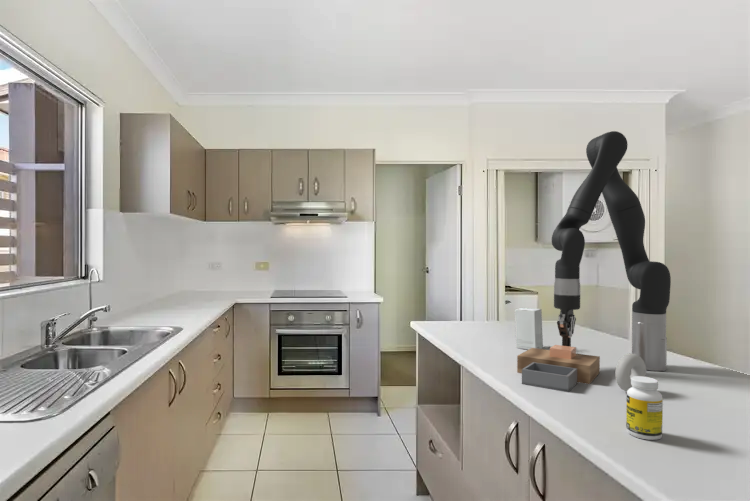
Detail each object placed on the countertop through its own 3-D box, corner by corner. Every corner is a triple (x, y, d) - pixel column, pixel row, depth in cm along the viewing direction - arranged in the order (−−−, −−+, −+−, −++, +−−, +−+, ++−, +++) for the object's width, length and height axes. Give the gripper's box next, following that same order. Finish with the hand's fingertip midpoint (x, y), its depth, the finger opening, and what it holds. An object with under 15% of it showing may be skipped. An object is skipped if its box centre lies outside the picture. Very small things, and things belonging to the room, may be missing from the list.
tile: (575, 355, 139) (576, 347, 139) (571, 359, 134) (571, 350, 134) (555, 352, 142) (555, 344, 142) (549, 356, 137) (549, 347, 137)
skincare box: (543, 349, 171) (543, 309, 171) (535, 351, 167) (535, 310, 167) (522, 345, 177) (522, 306, 177) (514, 348, 173) (514, 308, 173)
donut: (624, 396, 116) (624, 356, 116) (612, 392, 119) (612, 353, 119) (649, 391, 120) (649, 352, 120) (636, 387, 123) (636, 350, 123)
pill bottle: (619, 429, 95) (619, 375, 95) (647, 428, 95) (648, 374, 95) (639, 441, 88) (640, 383, 88) (669, 440, 89) (670, 383, 89)
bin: (577, 383, 127) (577, 368, 127) (568, 392, 119) (568, 376, 119) (533, 375, 134) (533, 362, 134) (521, 383, 126) (521, 369, 126)
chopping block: (599, 373, 138) (599, 356, 138) (589, 384, 126) (589, 365, 126) (531, 363, 149) (532, 347, 149) (517, 372, 138) (517, 355, 138)
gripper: (574, 295, 135) (574, 354, 135) (585, 292, 145) (584, 347, 145) (548, 293, 139) (547, 351, 139) (560, 291, 150) (559, 344, 150)
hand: (566, 349), depth 142 cm, fingers closed
